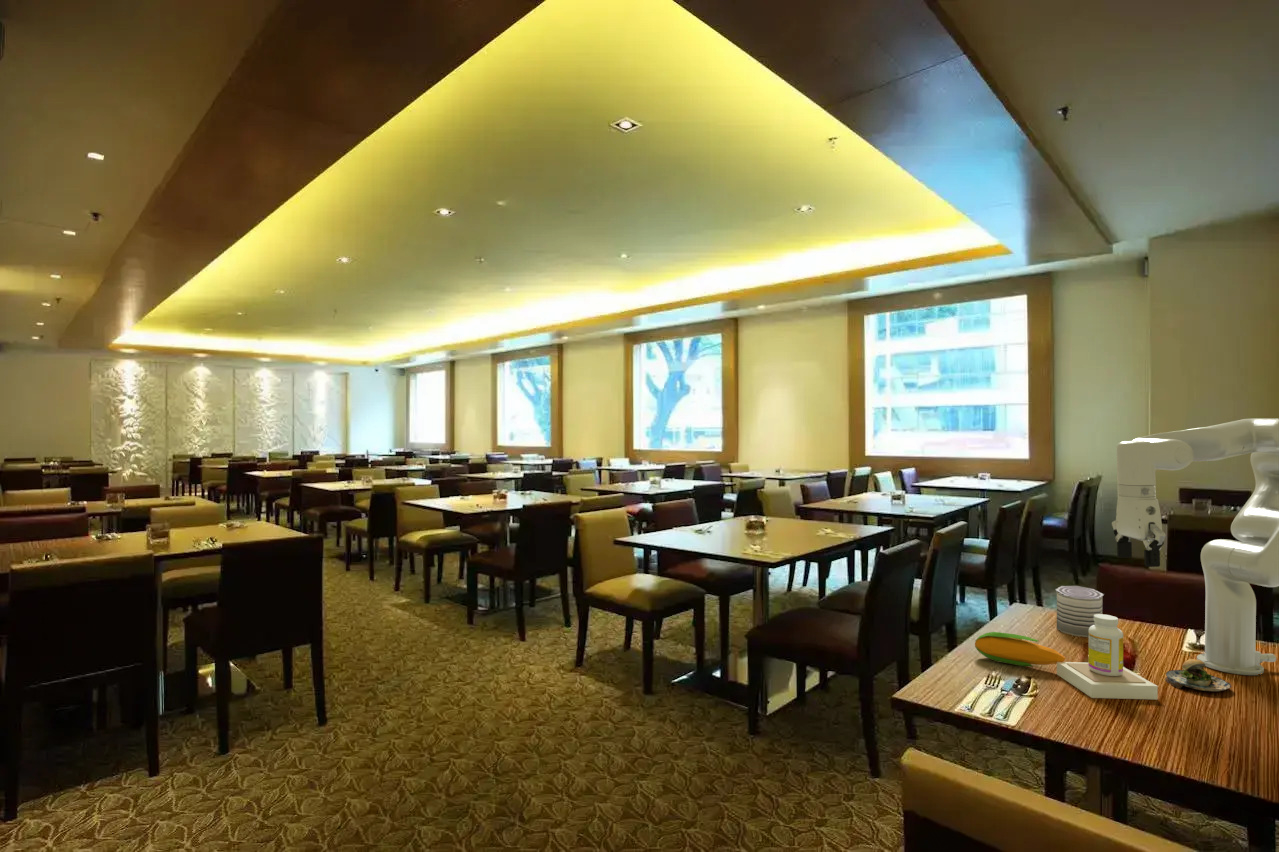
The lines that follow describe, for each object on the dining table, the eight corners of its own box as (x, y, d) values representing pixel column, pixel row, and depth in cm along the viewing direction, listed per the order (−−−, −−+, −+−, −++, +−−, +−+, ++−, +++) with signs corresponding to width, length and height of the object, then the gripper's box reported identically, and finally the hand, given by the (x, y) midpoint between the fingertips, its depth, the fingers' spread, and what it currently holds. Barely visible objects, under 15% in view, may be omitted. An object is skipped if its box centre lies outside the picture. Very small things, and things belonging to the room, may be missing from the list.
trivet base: (1116, 675, 164) (1116, 662, 163) (1157, 699, 150) (1157, 684, 150) (1056, 674, 164) (1056, 660, 164) (1091, 697, 150) (1091, 683, 150)
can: (1106, 631, 198) (1106, 590, 198) (1098, 640, 190) (1098, 597, 190) (1061, 623, 206) (1061, 583, 206) (1051, 631, 198) (1052, 590, 197)
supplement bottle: (1112, 667, 160) (1112, 613, 160) (1129, 678, 153) (1130, 621, 153) (1082, 666, 161) (1082, 612, 160) (1098, 676, 154) (1099, 620, 154)
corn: (977, 623, 179) (1066, 637, 168) (978, 651, 180) (1067, 667, 168) (972, 632, 173) (1064, 646, 162) (972, 661, 174) (1064, 678, 162)
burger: (1176, 692, 154) (1177, 659, 154) (1157, 674, 165) (1157, 643, 165) (1242, 700, 150) (1242, 666, 150) (1217, 681, 161) (1218, 649, 161)
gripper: (1179, 495, 156) (1180, 569, 156) (1128, 487, 173) (1129, 554, 173) (1145, 496, 156) (1147, 570, 156) (1098, 488, 173) (1099, 554, 174)
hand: (1138, 561), depth 165 cm, fingers open, 9 cm apart
